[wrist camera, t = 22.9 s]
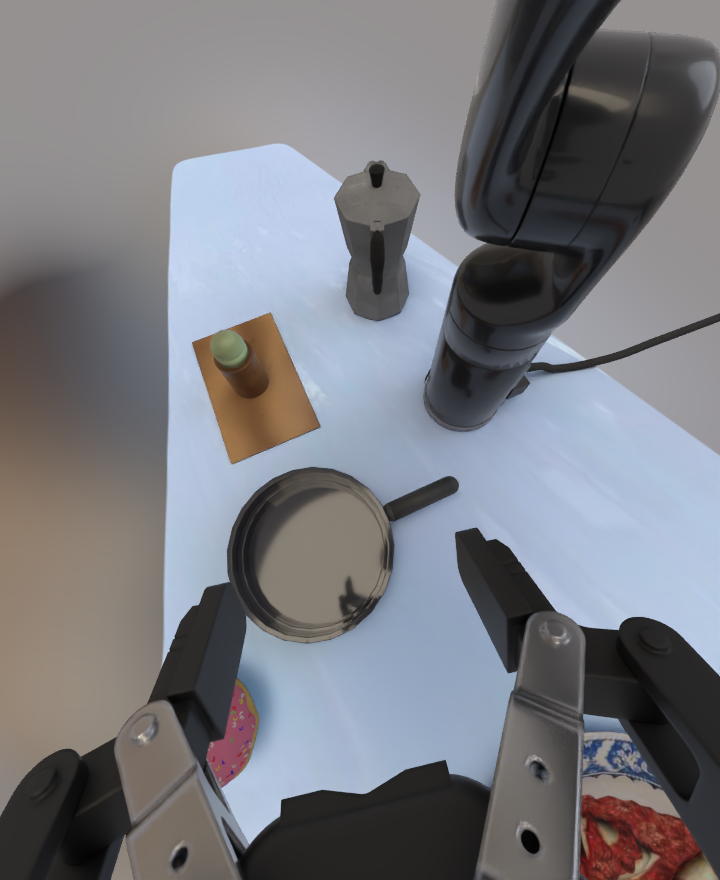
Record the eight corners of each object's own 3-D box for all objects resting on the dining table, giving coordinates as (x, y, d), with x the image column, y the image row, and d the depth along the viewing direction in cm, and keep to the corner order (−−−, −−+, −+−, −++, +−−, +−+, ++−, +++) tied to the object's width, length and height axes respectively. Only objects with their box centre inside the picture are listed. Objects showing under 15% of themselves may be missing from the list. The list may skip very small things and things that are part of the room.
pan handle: (451, 475, 40) (454, 471, 38) (459, 491, 40) (464, 487, 38) (378, 508, 39) (378, 505, 37) (386, 525, 39) (387, 523, 37)
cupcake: (187, 669, 37) (103, 711, 26) (268, 655, 37) (220, 690, 26) (186, 773, 34) (91, 872, 23) (274, 757, 34) (223, 847, 23)
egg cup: (270, 367, 49) (245, 318, 40) (267, 398, 47) (240, 354, 38) (236, 367, 49) (203, 319, 40) (231, 398, 48) (196, 355, 38)
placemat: (270, 313, 53) (270, 312, 52) (320, 427, 46) (320, 426, 46) (192, 343, 51) (191, 342, 51) (231, 464, 45) (231, 463, 44)
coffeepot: (346, 263, 55) (332, 127, 39) (407, 261, 55) (420, 123, 38) (344, 347, 50) (326, 231, 33) (411, 345, 50) (428, 228, 33)
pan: (355, 456, 44) (353, 443, 40) (418, 592, 38) (423, 594, 34) (225, 513, 43) (208, 506, 38) (270, 664, 37) (256, 676, 33)
